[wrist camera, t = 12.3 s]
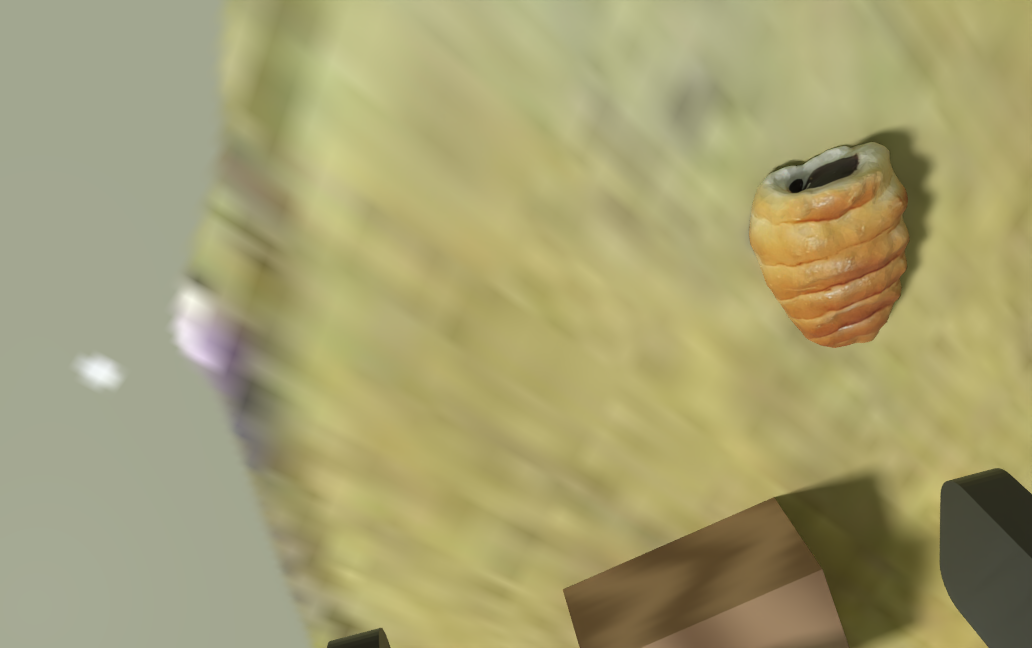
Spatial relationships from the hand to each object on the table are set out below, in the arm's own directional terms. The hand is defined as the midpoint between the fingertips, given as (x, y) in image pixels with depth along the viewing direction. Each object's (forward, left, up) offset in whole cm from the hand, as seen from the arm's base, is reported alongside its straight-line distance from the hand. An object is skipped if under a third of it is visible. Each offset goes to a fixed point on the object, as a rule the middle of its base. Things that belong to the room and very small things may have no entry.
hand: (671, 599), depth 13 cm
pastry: (-15, +9, -29) cm, 33 cm away
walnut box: (-7, +30, -28) cm, 42 cm away
